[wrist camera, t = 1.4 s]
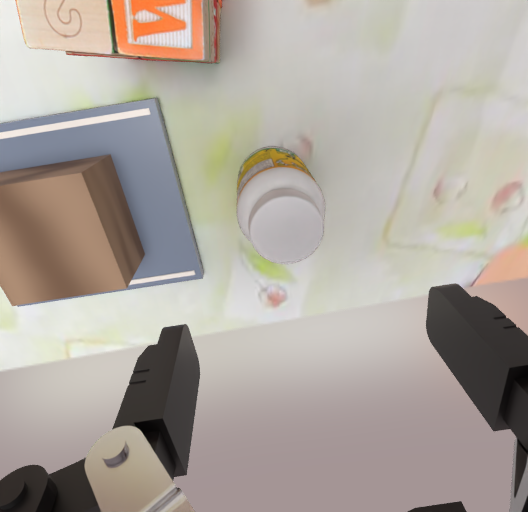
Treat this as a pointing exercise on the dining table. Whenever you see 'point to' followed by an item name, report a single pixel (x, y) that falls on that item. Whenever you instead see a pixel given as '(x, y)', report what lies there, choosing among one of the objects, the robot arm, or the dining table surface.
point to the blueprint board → (129, 172)
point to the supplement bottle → (279, 205)
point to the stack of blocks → (125, 28)
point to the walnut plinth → (65, 231)
